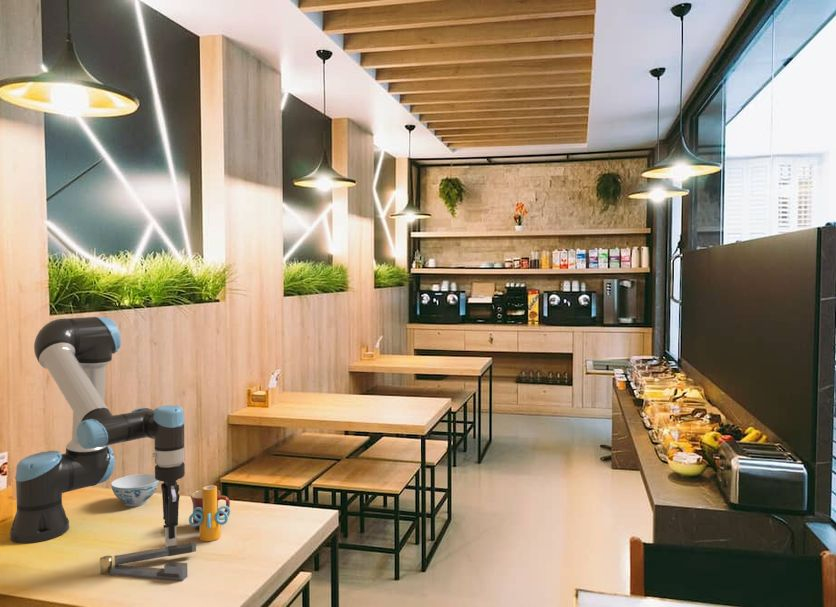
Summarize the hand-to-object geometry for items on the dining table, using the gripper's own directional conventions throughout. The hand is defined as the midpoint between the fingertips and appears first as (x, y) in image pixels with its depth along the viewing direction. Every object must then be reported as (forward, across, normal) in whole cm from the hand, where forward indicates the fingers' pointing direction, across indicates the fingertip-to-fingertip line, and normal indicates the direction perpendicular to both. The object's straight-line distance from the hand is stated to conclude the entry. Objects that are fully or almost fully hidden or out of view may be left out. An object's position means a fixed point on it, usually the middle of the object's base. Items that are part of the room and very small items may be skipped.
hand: (170, 548), depth 172 cm
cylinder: (+3, -8, +12) cm, 15 cm away
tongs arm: (+1, +2, -4) cm, 4 cm away
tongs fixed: (+2, +7, -8) cm, 11 cm away
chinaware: (+3, -51, -2) cm, 51 cm away
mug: (+3, -17, +14) cm, 23 cm away
